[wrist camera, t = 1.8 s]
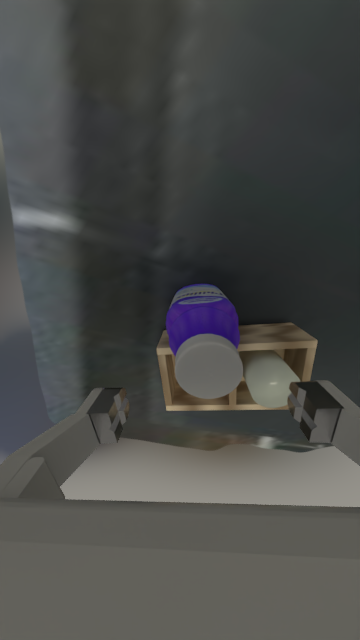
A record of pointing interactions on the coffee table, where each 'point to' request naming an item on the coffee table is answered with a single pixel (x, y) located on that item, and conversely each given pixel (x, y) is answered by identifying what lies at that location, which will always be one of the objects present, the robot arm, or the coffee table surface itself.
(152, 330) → the coffee table surface
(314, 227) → the coffee table surface
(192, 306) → the bottle
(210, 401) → the rack
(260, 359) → the pale green egg
